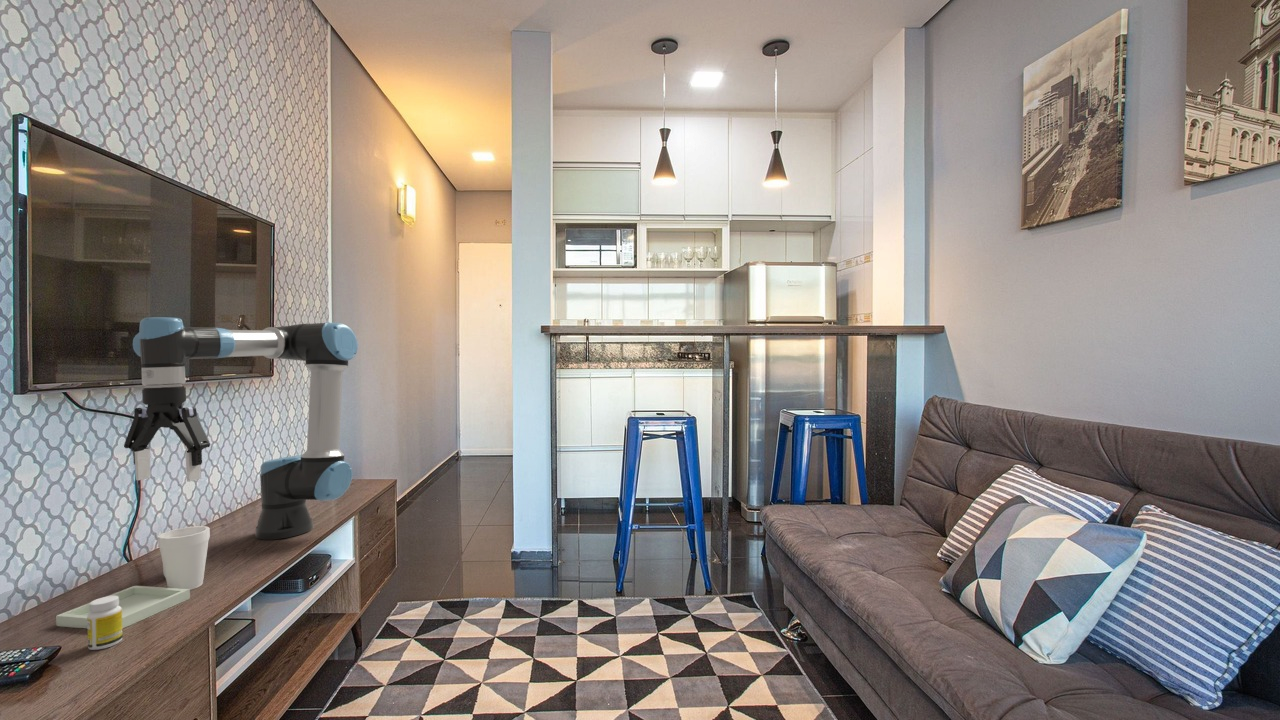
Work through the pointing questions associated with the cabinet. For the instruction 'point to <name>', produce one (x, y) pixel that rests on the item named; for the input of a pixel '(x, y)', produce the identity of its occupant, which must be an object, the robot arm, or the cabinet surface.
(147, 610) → the tray
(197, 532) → the foam cup
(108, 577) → the cabinet surface
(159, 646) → the cabinet surface
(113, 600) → the supplement bottle
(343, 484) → the robot arm
